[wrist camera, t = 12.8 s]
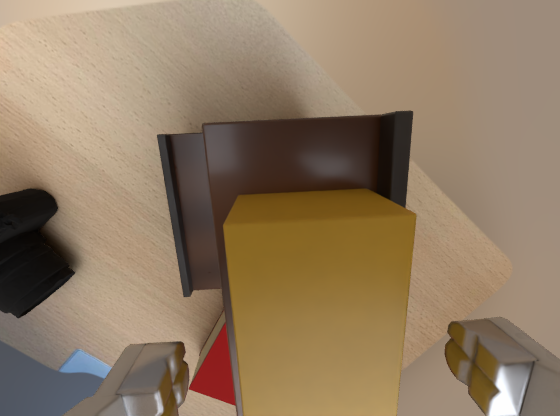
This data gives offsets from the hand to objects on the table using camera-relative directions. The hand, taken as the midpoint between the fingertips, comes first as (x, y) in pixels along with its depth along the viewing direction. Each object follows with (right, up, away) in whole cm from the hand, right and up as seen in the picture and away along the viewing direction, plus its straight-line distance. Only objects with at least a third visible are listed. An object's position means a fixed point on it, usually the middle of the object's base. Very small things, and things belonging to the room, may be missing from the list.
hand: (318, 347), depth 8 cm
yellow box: (0, +1, +3) cm, 3 cm away
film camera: (-29, -1, +21) cm, 36 cm away
